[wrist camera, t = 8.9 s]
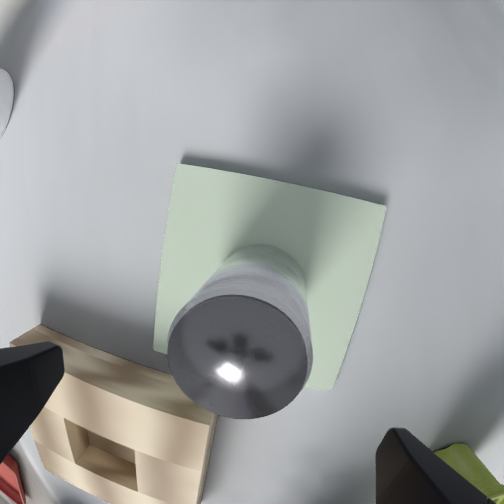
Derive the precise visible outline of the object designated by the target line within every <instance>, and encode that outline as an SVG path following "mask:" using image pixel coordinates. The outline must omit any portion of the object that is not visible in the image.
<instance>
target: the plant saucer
mask: <svg viewBox="0 0 504 504" xmlns="http://www.w3.org/2000/svg"><path fill="white" fill-rule="evenodd" d="M0 490H1V491H2V492H3V493H4V494H5V495H7V496H8V497H9V498H10V499H11V500H13V501H14V502H15V503H16V504H26V499H25V493H24V489H23V486H22V482H21V478H20V474H19V469H18V465H17V462H16V461H15V459H14V458H12V457H11V456H10V455H9V454H8V455H7V456H6V458H5V459H4V460H3V462H2V463H1V464H0Z"/></svg>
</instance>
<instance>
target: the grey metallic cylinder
mask: <svg viewBox="0 0 504 504" xmlns="http://www.w3.org/2000/svg"><path fill="white" fill-rule="evenodd" d="M167 357H168V364H169V368H170V371H171V373H172V376H173V378H174V380H175V382H176V383H177V385H178V386H179V388H180V389H181V390H182V391H183V393H184V394H185V395H186V396H187V397H188V398H190V399H191V400H192V401H193V402H194V403H196V404H197V405H199V406H200V407H202V408H204V409H206V410H207V411H209V412H212V413H214V414H217V415H220V416H224V417H228V418H234V419H254V418H260V417H264V416H268V415H270V414H273V413H275V412H277V411H279V410H281V409H283V408H284V407H286V406H287V405H288V404H289V403H290V402H292V401H293V400H294V398H295V397H296V396H297V395H298V394H299V392H300V391H301V390H302V389H303V387H304V386H305V384H306V382H307V381H308V378H309V376H310V373H311V369H312V364H313V349H312V339H311V330H310V322H309V313H308V305H307V297H306V289H305V281H304V277H303V274H302V271H301V269H300V267H299V265H298V264H297V262H296V261H295V260H294V259H293V258H292V257H291V256H290V255H289V254H288V253H286V252H285V251H283V250H281V249H279V248H277V247H274V246H271V245H265V244H255V245H249V246H245V247H243V248H240V249H239V250H237V251H235V252H234V253H233V254H231V255H230V256H229V257H228V258H227V259H226V260H225V261H224V263H223V264H222V265H221V266H220V267H219V268H218V269H217V270H216V271H215V272H214V273H213V275H212V276H211V277H210V278H209V279H208V280H207V281H206V282H205V283H204V284H203V285H202V287H201V288H200V289H199V290H198V291H197V292H196V293H195V294H194V295H193V296H192V298H191V299H190V300H189V301H188V302H187V303H186V304H185V305H184V306H183V307H182V309H181V310H180V311H179V312H178V314H177V315H176V316H175V318H174V320H173V322H172V324H171V326H170V329H169V332H168V338H167Z"/></svg>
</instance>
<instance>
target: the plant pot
mask: <svg viewBox="0 0 504 504" xmlns="http://www.w3.org/2000/svg"><path fill="white" fill-rule="evenodd" d="M434 453H435V454H436V455H437V456H438V457H440V458H441V459H442V460H443V461H444V462H446V463H447V464H448V465H449V466H450V467H452V468H453V469H454V470H455V471H457V472H458V473H459V474H460V475H461V476H463V477H464V478H465V479H466V480H468V481H469V482H470V483H471V484H473V485H474V486H475V487H476V488H478V489H479V490H480V491H481V492H483V493H484V494H485V495H486V496H487V497H488V498H490V499H491V500H493V501H494V502H495V503H496V504H504V485H502V484H500V483H499V482H498V481H497V480H496V479H495V477H494V476H493V475H492V474H491V473H490V471H489V470H488V469H487V468H486V467H485V465H484V464H483V463H482V462H481V461H480V459H479V458H478V457H477V456H476V455H475V453H474V452H473V451H472V450H471V449H470V447H469V446H467V445H466V444H460V443H459V444H452V445H451V446H450V447H448V448H446V449H443V450H438V451H435V452H434Z"/></svg>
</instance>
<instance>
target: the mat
mask: <svg viewBox="0 0 504 504" xmlns="http://www.w3.org/2000/svg"><path fill="white" fill-rule="evenodd" d="M386 208H387V206H384V205H380V204H376V203H372V202H368V201H364V200H360V199H356V198H352V197H348V196H344V195H340V194H336V193H332V192H327V191H323V190H319V189H314V188H310V187H305V186H300V185H296V184H291V183H286V182H281V181H277V180H272V179H266V178H261V177H256V176H251V175H245V174H240V173H234V172H229V171H223V170H217V169H211V168H205V167H199V166H192V165H186V164H179V163H176V168H175V174H174V179H173V185H172V191H171V197H170V203H169V209H168V216H167V222H166V229H165V236H164V243H163V251H162V259H161V267H160V275H159V284H158V294H157V304H156V315H155V327H154V340H153V350H154V351H157V352H160V353H164V354H167V338H168V332H169V329H170V326H171V324H172V322H173V320H174V318H175V316H176V315H177V314H178V312H179V311H180V310H181V309H182V307H183V306H184V305H185V304H186V303H187V302H188V301H189V300H190V299H191V298H192V296H193V295H194V294H195V293H196V292H197V291H198V290H199V289H200V288H201V287H202V285H203V284H204V283H205V282H206V281H207V280H208V279H209V278H210V277H211V276H212V275H213V273H214V272H215V271H216V270H217V269H218V268H219V267H220V266H221V265H222V264H223V263H224V261H225V260H226V259H227V258H228V257H229V256H230V255H231V254H233V253H234V252H235V251H237V250H239V249H240V248H243V247H245V246H249V245H255V244H265V245H271V246H274V247H277V248H279V249H281V250H283V251H285V252H286V253H288V254H289V255H290V256H291V257H292V258H293V259H294V260H295V261H296V262H297V264H298V265H299V267H300V269H301V271H302V274H303V277H304V281H305V289H306V297H307V305H308V313H309V322H310V330H311V339H312V349H313V364H312V369H311V373H310V376H309V378H308V381H307V382H306V384H305V386H304V387H308V388H314V389H320V390H327V391H332V388H333V386H334V383H335V380H336V378H337V375H338V373H339V370H340V367H341V364H342V362H343V359H344V356H345V353H346V350H347V348H348V345H349V342H350V339H351V336H352V333H353V330H354V327H355V324H356V321H357V318H358V314H359V311H360V308H361V305H362V301H363V298H364V295H365V291H366V288H367V284H368V281H369V277H370V274H371V270H372V266H373V262H374V259H375V255H376V251H377V247H378V243H379V239H380V235H381V230H382V226H383V222H384V217H385V213H386Z"/></svg>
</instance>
